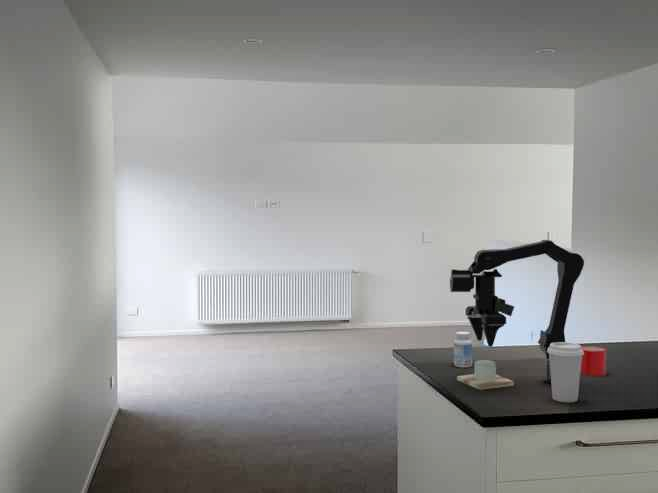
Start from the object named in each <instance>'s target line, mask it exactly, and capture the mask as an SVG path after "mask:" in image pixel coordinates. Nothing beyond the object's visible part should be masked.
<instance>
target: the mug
mask: <svg viewBox="0 0 658 493" xmlns="http://www.w3.org/2000/svg"><path fill="white" fill-rule="evenodd" d="M581 348H582V349H583V352H584V355H582V361H581V370H580V375H583V376H590V377H602V376H605V375H606V374H607V372H606V368H607V367H606V366H607V364H606V363H607V356H606V355H607V349H606V348H605V347H601V346H594V345H586V346H585V345H584V346H581Z"/></svg>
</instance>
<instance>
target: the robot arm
mask: <svg viewBox="0 0 658 493" xmlns="http://www.w3.org/2000/svg"><path fill="white" fill-rule="evenodd" d="M541 255H546V256H548V258H550V259H552V260H553V261H555V262H556V263H557V271H556V272H557V278H558V283H557V286H556V290H555V291H556V292H555V296H554V301H553V304H552V311H551V315H550V320H549V324H548V327H547V328H546V329H545V330H540V331H539V332H540V333H539V336H540V337H539V340H538V341H537V343H538V346H539V350H540V351H541V353H542V354H543V355H545V357H546V360H547V365H546V378H543V380H542V381H543V382H545V383H548V384H551V373H550V361H549V353H548V352H547V350H548V348H549V347H550V344H551V343H555V342H566V337H565V327H566V322H567V319H568V314H569V309H570V304H571V299H572V295H573V292H574V286H575V283H576V282H577V281H578V280H579V277H580V275H581V274H582V271H583V269H584V265H585V260H584V258H583V256H582V255H580V254H579V253H576V252H573V251H571V252H570V251H569V250H567V249H564V248H563V247H561V246H559V245H558V244H556V243H555V242H553V241H552V240H550V239H543V240H541V241H537V242H536V241H535V242H531V243H527V244H522V245H519V246H518V245H517V246H513V247H508V248H504V249H498V248H497V249H481V250H478V251H477V252H476V254H475V255H474V258H473V260H474V261H473V262H472V263H471V264H470V265H469V267H468V268H467V269H451V271H450V279H449V290H450V292H451V293H470V292H471V290H473V289H475V293H474V294H472V296H473V297H472V298H473V299H475V301H474V302H475V305H470V306H469V305H468V306H467V307H466V308H465V316H467V317H466V318H467V319H468V321H469V323H470V326H471V327H472V328H471V329H472V331H473V332H474V334H475V336H476V339H477V341H482V339H483V334H484V337H485V339H486V342H487V346H488V347H490V348H492V347H493V345H494V342H495V339H496V337H497V333H498V331H499V330H500V329H501V328H502V327H504V326H505V325H507V317H506V316H505V315H507V316H509V317H512V315H513V311H514V309H515V306H513V305H512V304H508V303H506V299H504V298H503V299H502V298H500V297H499V296H498V295H496V278H502V277H503V274H502V273H500V272H499V271H498V269H496V268H498V267H501V266H502V265H504V264H506V263H509V262H513V261H517V260H518V261H519V260H523V259H528V258H530V257H531V258H533V257H535V256H541ZM492 269H493V270H492ZM490 270H491V271H490Z"/></svg>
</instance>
